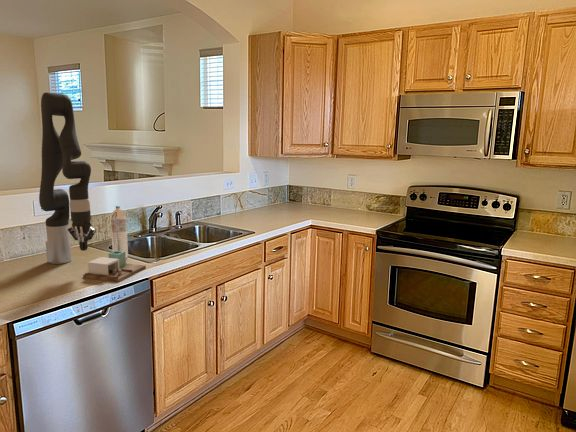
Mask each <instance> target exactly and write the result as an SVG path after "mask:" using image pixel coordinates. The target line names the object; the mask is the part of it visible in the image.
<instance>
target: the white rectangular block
mask: <svg viewBox="0 0 576 432" xmlns="http://www.w3.org/2000/svg"><path fill="white" fill-rule="evenodd" d="M87 268H88V269H87V270H88V272H89V273H92V274H100V275H108V276H109V273H108V270H113V269H116V271H118V270H120V266H119V259H114V258H109V257H103V256H100V257H97V258H95V259H92V260H90V261H88V262H87Z"/></svg>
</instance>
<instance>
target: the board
mask: <svg viewBox="0 0 576 432" xmlns="http://www.w3.org/2000/svg"><path fill="white" fill-rule="evenodd" d="M146 268H147V267H146V265H143V264H133V263H127V262H126V265H124V266H122V267H120V270H118V271H116V269H113V270H108V273H109V276H108V275H100V274H92V273H89V271H88V272H85V273H84V274H82V278H83V279H85V278H86V279H90V280H99V281H106V282H107V281H109V282H116V283H120V282H121V281H123V280H125V279H128V278H130V277H131V276H134V275H135V274H138V273H140V272H141V271H143V270H145V269H146Z"/></svg>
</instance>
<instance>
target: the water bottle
mask: <svg viewBox="0 0 576 432" xmlns="http://www.w3.org/2000/svg"><path fill="white" fill-rule="evenodd" d="M110 223H111V225H110V226H111V227H110V228H111V243H112V244H111V245H112V248H111V249H112V252H113V251H124V252H125V254H126V259H127V258H128V257H129V251H128V250H129V247H128V245H129V244H128V231H127V213H125V211H123V210H122V209H121V205H116V206H115V209H114V210H113V211H112V213H111V214H110Z"/></svg>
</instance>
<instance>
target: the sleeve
mask: <svg viewBox="0 0 576 432" xmlns="http://www.w3.org/2000/svg"><path fill="white" fill-rule="evenodd" d="M107 254H108V256H107V257H108V258H114V259H119V266H120V267H122V266H124V265H126V263H127V261H126V260H127V258H126V254H125V252H124V251H113V250H112V251H111V252H109V253H107Z"/></svg>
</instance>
